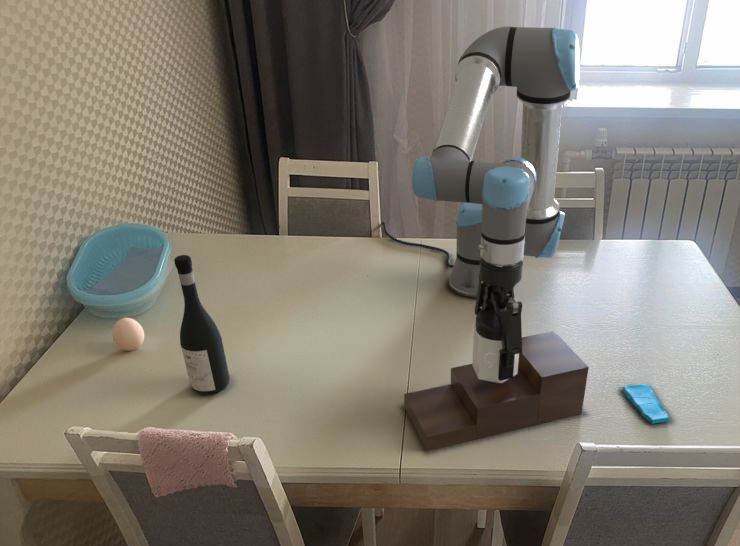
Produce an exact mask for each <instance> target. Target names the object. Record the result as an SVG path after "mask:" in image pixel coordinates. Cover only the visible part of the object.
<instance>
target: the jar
mask: <svg viewBox="0 0 740 546" xmlns="http://www.w3.org/2000/svg"><path fill="white" fill-rule="evenodd" d="M504 310H505V309H500V311H504ZM500 333H501V329H500V327H499V320H498V316H496V315H495V310H494V308H493V309H487V310H484V309H483V310H481V311H480V312H479V313H478V314H477V315H475V325H474V326H473V338H472V339H473V340H472V344H473V345H472V363H471V364H472V366H473V368H474V370H475V373H476V375H477V377H478V379H480V380H485V381H491V382H496V383H503V382H505V381H506V380H508V379H506V380H501V381H500V380H499V379H498V374H499V358H500V353H499V350H501V349H502V342H501V334H500ZM518 361H519V354H515V358H514V371H513V376H515V375H517V373H518Z"/></svg>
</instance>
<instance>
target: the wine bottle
mask: <svg viewBox="0 0 740 546" xmlns="http://www.w3.org/2000/svg"><path fill="white" fill-rule="evenodd" d="M173 261H174V266H175V268H176V271H177V274H178V278H179V283H180V287H181V292H182V295H183V302H184V307H183V316H182V319H181V325H180V330H179V345H180V349H181V353H182V356H183V360H184V364H185V365H184V366H185V369H186V373H187V376H188V380H189V384H190V387H191V389H192V390H193V391H194V392H195V393H197V394H199V395H205V396H207V395H209V396H210V395H215V394H218V393H220V392H222V391H223V390H225V389H226V388H227V387H228V385H229V383H230V372H229V367H228V363H227V358H226V353H225V348H224V343H223V339H222V335H221V333H220V330H219V329H218V327H217V324H216V323H215V321H214V319H213V318H212V317H211V315H210V314H209V313H208V312H207V310H206V309H205V307H204V305H203V304H202V303H201V300H200V297H199V293H198V289H197V284H196V280H195V276H194V271H193V270H194V269H193V261H192V257H191V256H190V255H188V254H181V255H177V256H176V257H174V259H173Z"/></svg>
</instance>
